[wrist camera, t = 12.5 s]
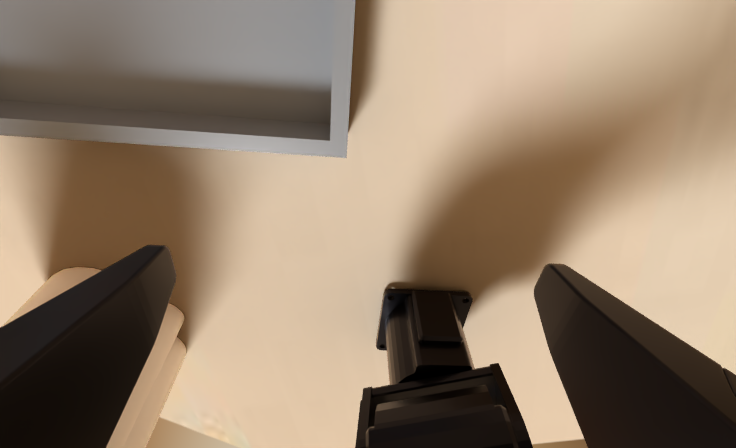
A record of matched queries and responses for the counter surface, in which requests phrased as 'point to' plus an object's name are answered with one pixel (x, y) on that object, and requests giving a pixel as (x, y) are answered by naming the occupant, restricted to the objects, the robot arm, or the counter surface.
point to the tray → (180, 73)
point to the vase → (154, 377)
